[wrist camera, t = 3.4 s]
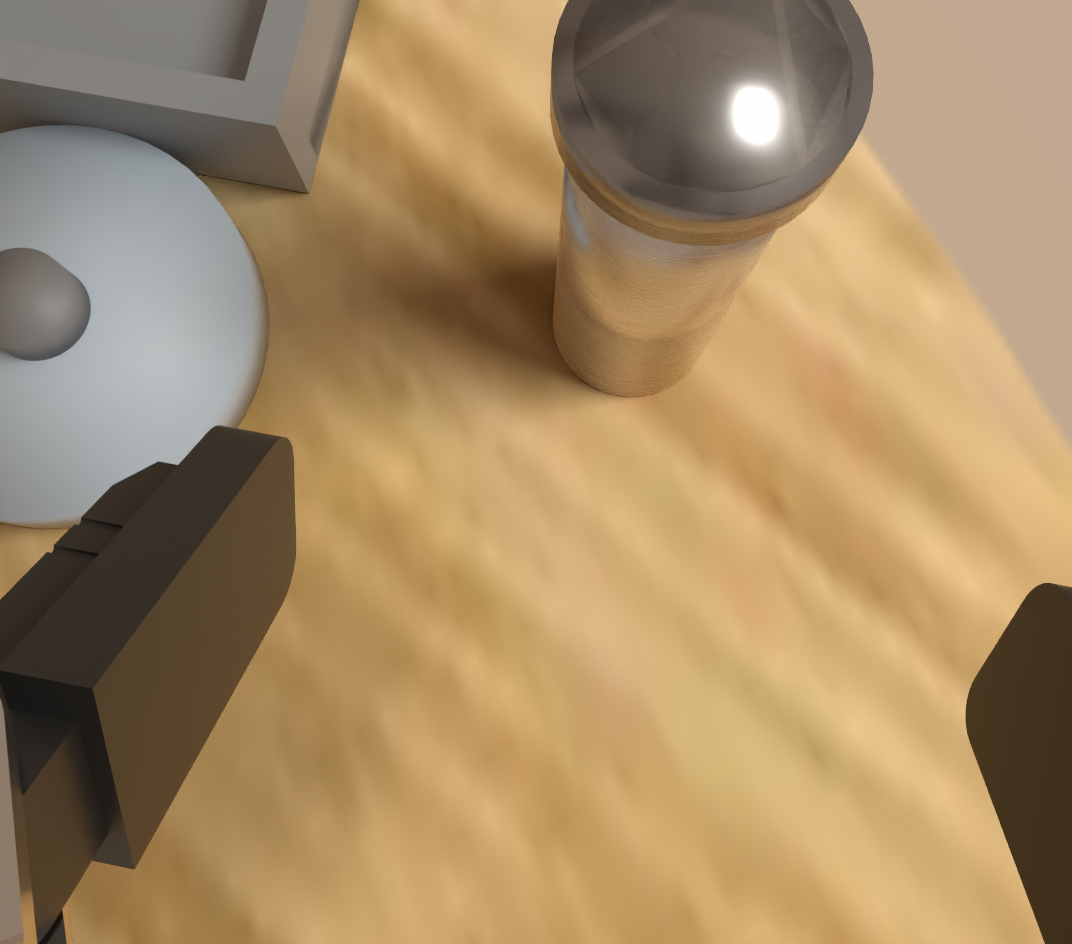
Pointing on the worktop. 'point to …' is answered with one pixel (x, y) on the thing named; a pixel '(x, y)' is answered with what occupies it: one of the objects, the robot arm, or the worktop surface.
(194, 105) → the tray
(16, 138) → the pot lid
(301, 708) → the worktop surface
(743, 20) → the salt shaker
